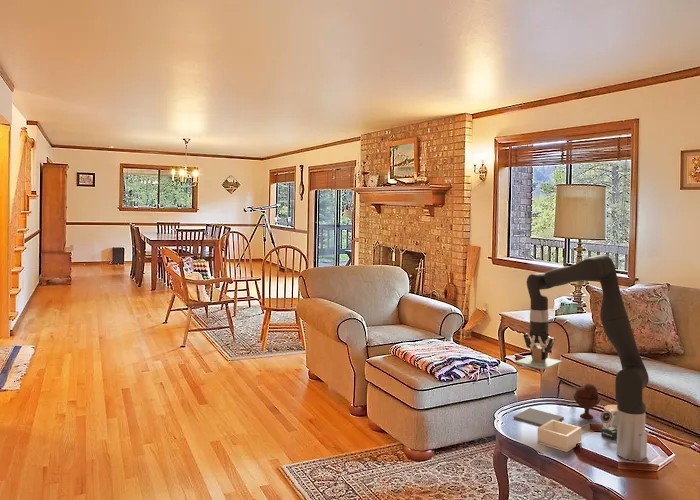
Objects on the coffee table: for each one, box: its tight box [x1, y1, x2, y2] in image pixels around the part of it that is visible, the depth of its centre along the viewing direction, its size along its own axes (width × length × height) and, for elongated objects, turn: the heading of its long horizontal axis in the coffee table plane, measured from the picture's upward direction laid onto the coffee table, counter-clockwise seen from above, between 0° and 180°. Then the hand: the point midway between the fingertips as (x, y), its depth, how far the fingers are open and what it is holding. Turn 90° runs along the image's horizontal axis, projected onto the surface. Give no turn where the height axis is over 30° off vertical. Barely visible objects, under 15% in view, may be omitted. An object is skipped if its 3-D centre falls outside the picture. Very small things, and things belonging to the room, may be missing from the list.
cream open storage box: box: [536, 420, 582, 453], centre depth 224 cm, size 12×12×6 cm
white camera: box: [603, 404, 618, 428], centre depth 238 cm, size 11×11×9 cm
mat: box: [513, 407, 565, 427], centre depth 249 cm, size 16×14×1 cm
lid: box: [515, 345, 563, 370], centre depth 246 cm, size 14×14×8 cm
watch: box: [600, 409, 617, 441], centre depth 228 cm, size 6×8×11 cm
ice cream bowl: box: [573, 383, 602, 421], centre depth 249 cm, size 11×11×15 cm
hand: (538, 358), depth 246 cm, fingers closed on lid, 4 cm apart
